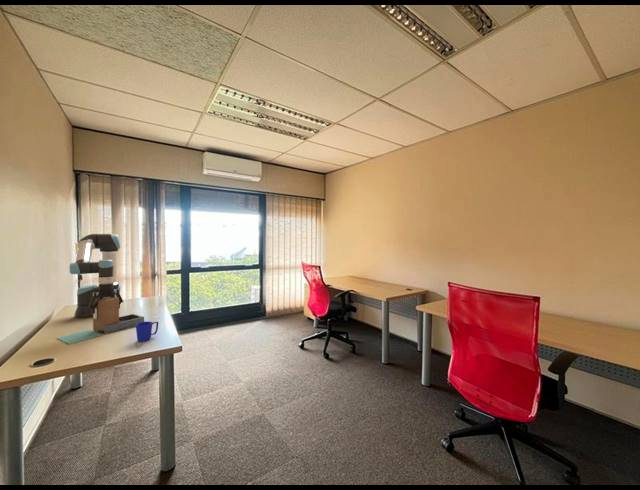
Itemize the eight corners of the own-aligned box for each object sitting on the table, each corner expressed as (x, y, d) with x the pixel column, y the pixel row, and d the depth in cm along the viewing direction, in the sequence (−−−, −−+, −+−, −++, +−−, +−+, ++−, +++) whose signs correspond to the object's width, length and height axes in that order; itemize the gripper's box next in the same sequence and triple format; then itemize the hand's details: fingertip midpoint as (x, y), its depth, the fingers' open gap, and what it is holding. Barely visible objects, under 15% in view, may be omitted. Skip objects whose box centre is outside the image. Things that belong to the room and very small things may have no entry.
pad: (56, 338, 158) (56, 337, 158) (89, 330, 172) (89, 329, 172) (68, 344, 149) (68, 343, 149) (102, 335, 163) (102, 334, 163)
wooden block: (105, 331, 167) (104, 300, 166) (92, 330, 169) (92, 299, 168) (119, 326, 177) (119, 296, 176) (107, 325, 179) (107, 296, 178)
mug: (161, 337, 162) (161, 321, 162) (140, 343, 151) (140, 326, 151) (154, 334, 166) (154, 319, 166) (133, 340, 156) (133, 324, 155)
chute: (94, 329, 173) (94, 322, 173) (133, 320, 193) (133, 313, 193) (105, 334, 166) (105, 326, 166) (144, 323, 186) (144, 316, 186)
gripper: (85, 286, 160) (86, 321, 160) (129, 281, 181) (129, 312, 181) (80, 285, 163) (80, 319, 164) (123, 280, 184) (123, 310, 185)
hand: (106, 315), depth 173 cm, fingers closed on wooden block, 11 cm apart
